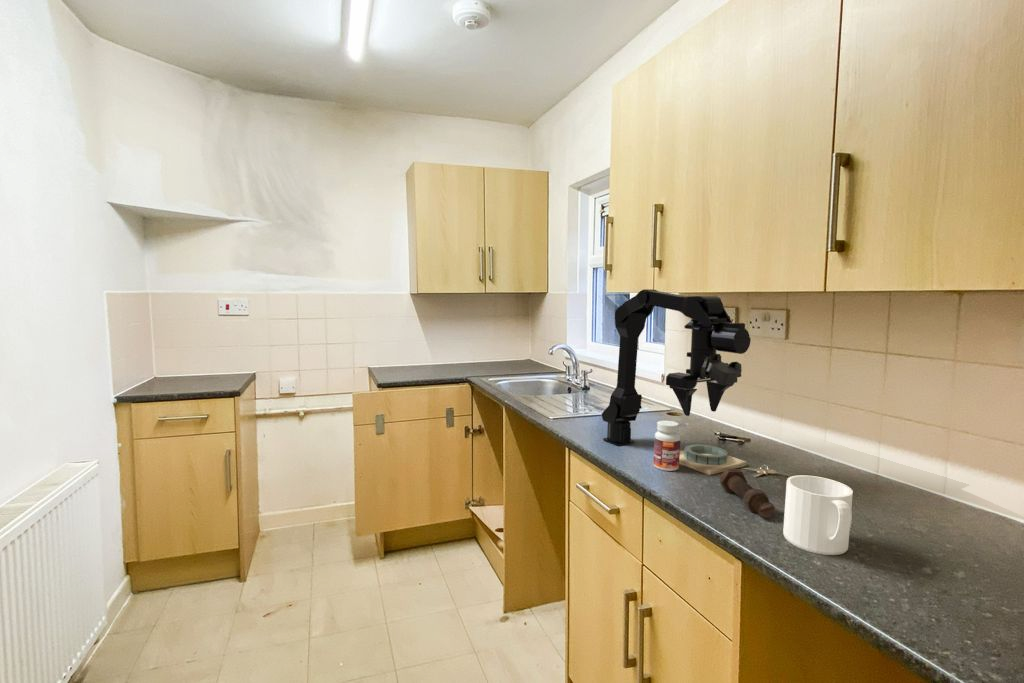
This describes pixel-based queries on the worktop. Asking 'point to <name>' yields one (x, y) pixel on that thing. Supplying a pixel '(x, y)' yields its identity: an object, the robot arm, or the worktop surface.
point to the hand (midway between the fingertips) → (700, 413)
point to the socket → (708, 459)
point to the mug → (817, 514)
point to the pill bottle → (667, 446)
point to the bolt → (747, 493)
